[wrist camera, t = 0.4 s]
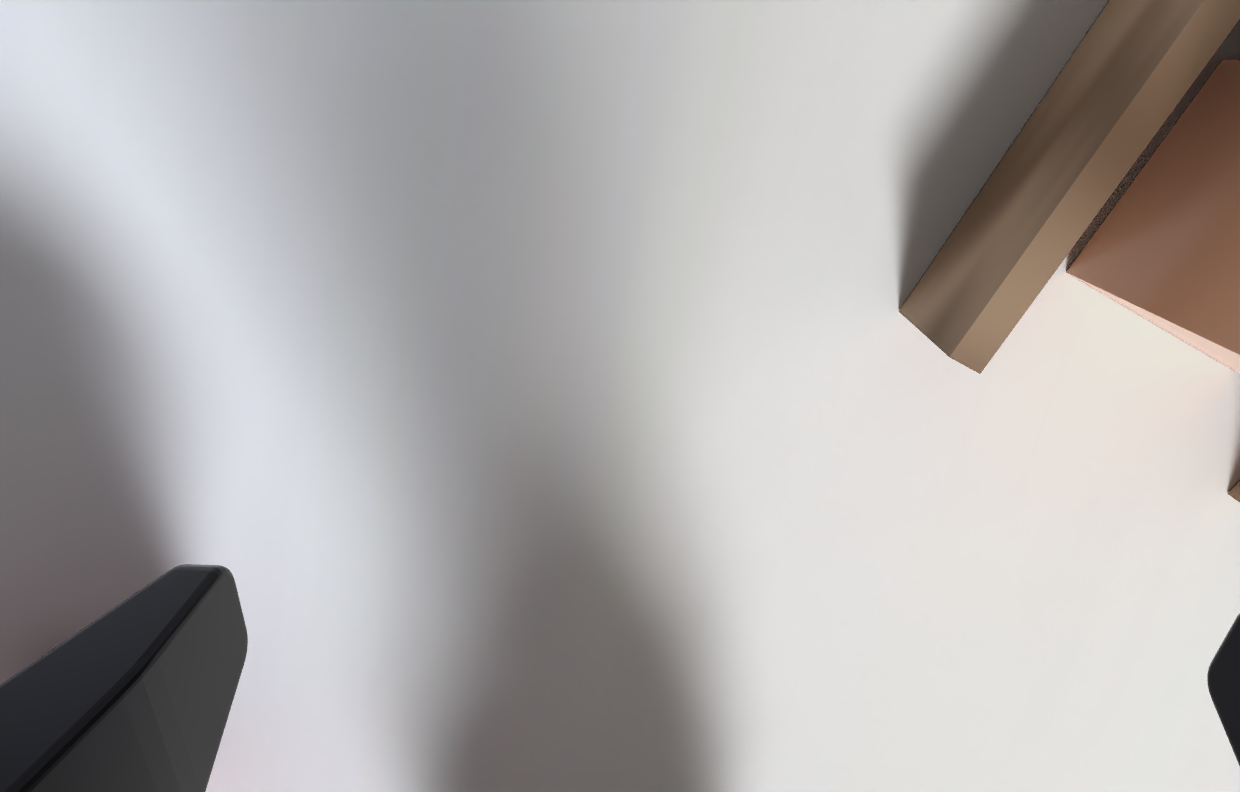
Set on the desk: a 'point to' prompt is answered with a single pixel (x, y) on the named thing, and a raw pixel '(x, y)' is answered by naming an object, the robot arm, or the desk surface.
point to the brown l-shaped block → (1064, 170)
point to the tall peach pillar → (1181, 228)
